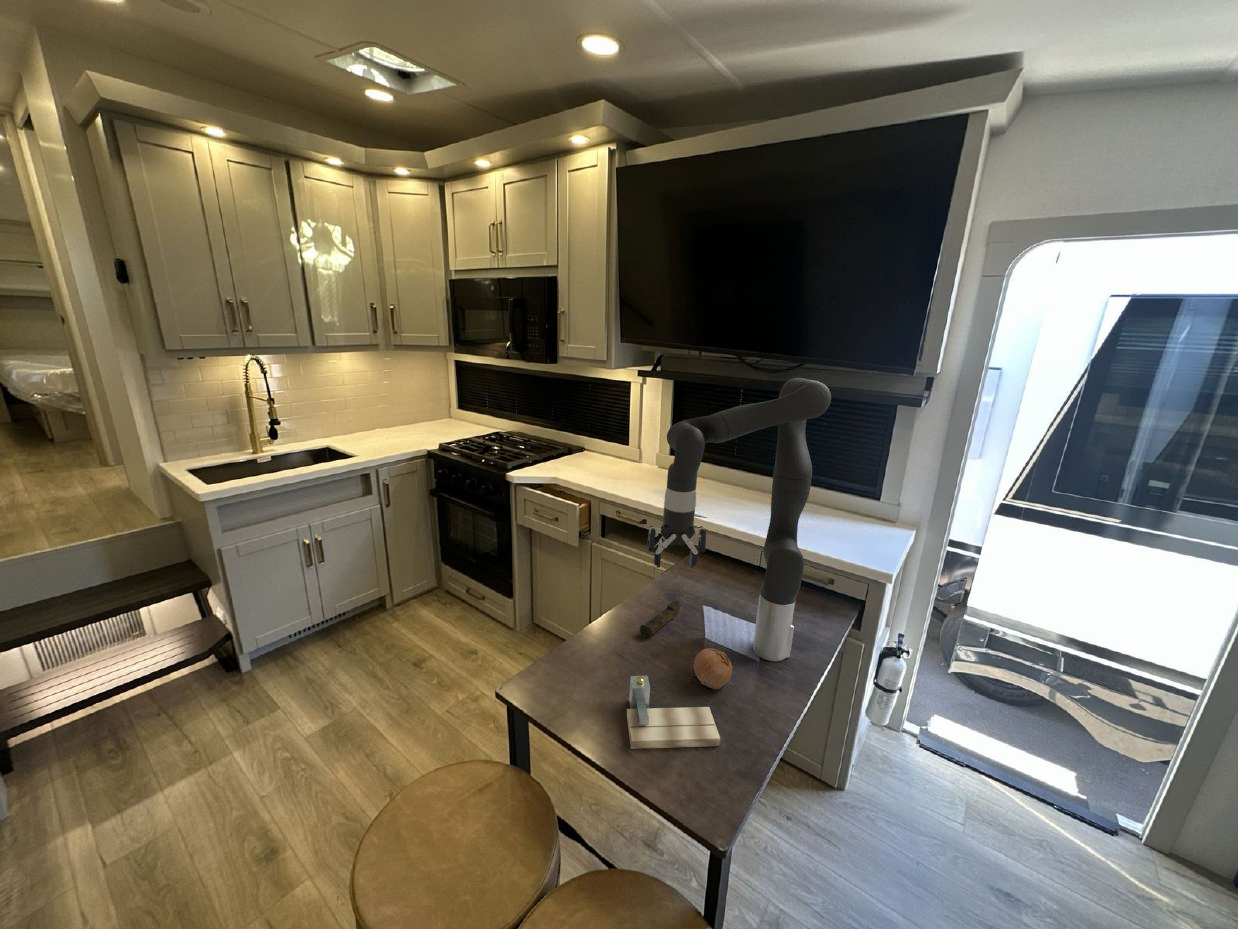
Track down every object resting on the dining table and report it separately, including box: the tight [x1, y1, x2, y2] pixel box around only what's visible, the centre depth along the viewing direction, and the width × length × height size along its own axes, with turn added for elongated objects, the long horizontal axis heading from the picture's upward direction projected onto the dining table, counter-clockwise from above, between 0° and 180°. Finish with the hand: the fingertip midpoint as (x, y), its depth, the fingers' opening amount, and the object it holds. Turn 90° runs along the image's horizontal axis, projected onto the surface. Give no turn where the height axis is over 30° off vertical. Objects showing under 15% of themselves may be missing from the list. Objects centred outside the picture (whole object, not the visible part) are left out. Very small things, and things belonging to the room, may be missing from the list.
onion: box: [693, 647, 733, 691], centre depth 122 cm, size 10×9×10 cm
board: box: [626, 706, 721, 750], centre depth 108 cm, size 19×9×2 cm, turn 95°
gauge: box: [628, 675, 651, 725], centre depth 110 cm, size 4×10×8 cm, turn 5°
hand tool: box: [639, 600, 681, 640], centre depth 147 cm, size 19×4×5 cm, turn 139°
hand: (674, 566), depth 123 cm, fingers open, 8 cm apart
